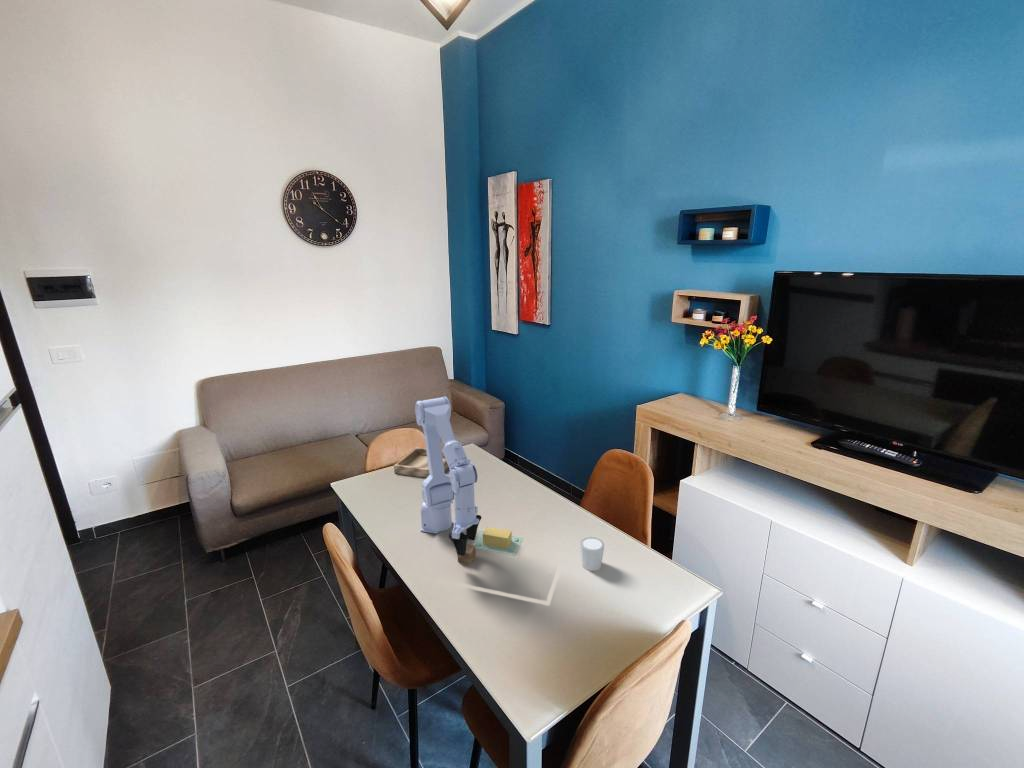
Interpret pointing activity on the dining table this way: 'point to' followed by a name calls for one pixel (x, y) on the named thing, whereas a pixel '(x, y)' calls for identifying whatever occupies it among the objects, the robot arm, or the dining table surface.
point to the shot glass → (591, 553)
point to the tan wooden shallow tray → (416, 463)
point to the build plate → (511, 549)
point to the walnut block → (468, 554)
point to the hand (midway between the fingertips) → (466, 546)
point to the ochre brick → (497, 537)
